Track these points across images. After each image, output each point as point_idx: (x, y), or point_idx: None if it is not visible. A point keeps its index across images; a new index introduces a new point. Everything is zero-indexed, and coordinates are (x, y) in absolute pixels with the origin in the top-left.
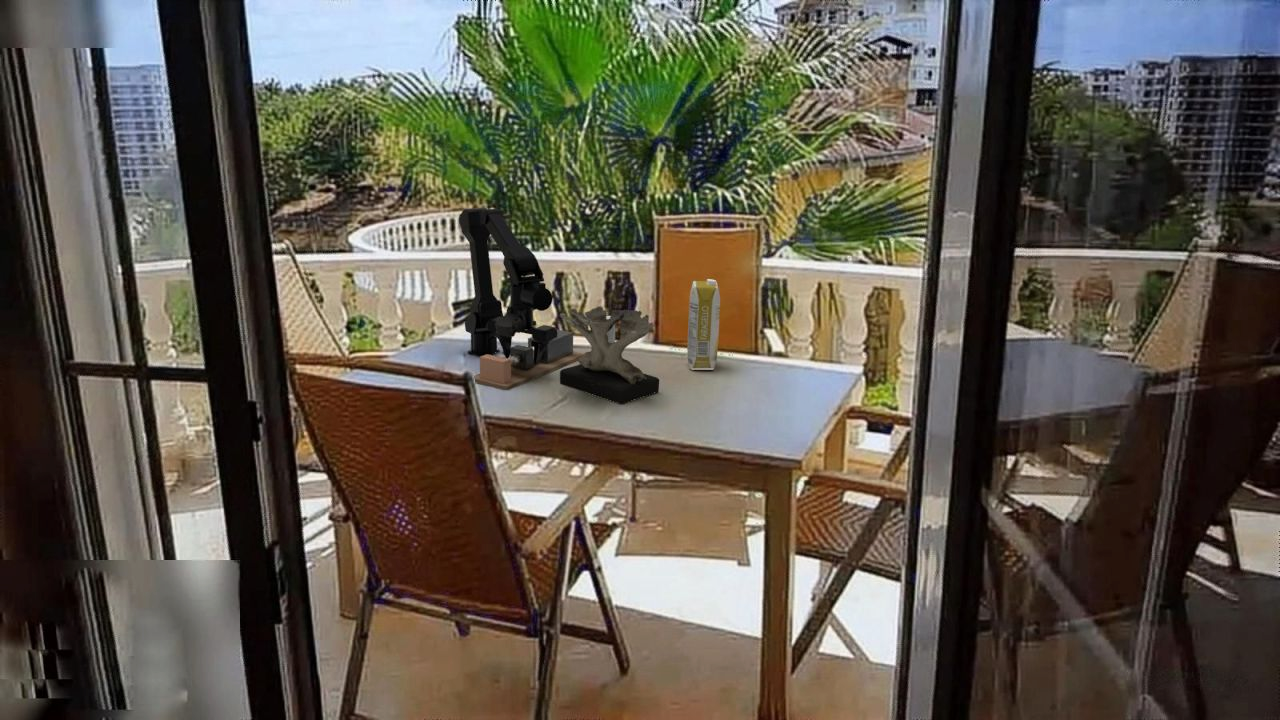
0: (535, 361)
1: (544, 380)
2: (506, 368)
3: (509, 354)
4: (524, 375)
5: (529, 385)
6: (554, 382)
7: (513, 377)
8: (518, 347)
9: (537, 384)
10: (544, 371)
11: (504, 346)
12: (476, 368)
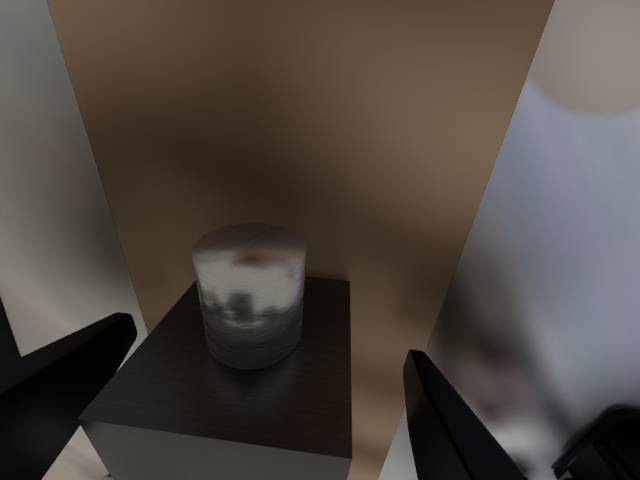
0: (93, 327)
1: (73, 215)
2: None
3: (406, 395)
4: (155, 176)
5: (31, 51)
6: (4, 210)
7: (179, 73)
8: (259, 477)
9: (22, 113)
10: (142, 310)
11: (470, 473)
12: (633, 218)
